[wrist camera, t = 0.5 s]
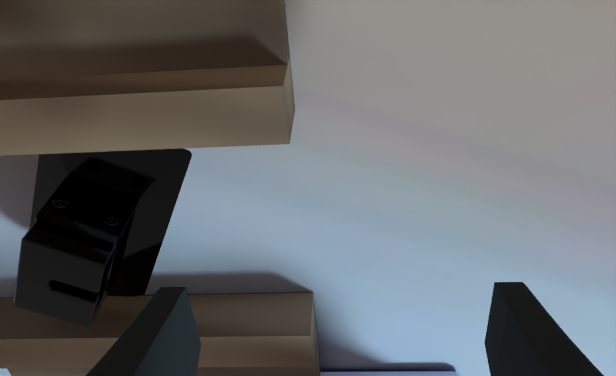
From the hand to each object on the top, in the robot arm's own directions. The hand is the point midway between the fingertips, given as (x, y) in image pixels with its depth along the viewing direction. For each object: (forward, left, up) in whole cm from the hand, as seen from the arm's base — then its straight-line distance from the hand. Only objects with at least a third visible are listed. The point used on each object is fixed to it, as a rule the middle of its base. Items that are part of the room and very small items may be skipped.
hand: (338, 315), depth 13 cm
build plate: (-3, +10, -9) cm, 14 cm away
